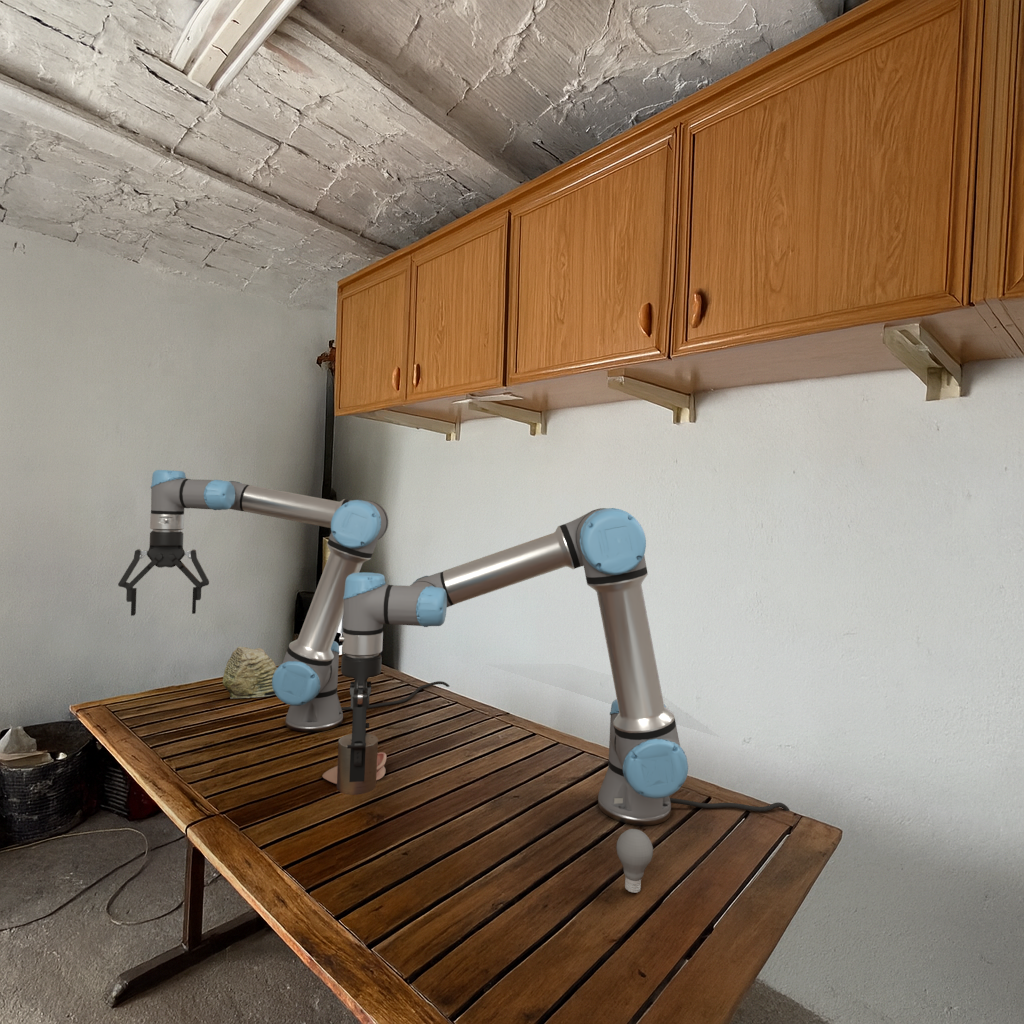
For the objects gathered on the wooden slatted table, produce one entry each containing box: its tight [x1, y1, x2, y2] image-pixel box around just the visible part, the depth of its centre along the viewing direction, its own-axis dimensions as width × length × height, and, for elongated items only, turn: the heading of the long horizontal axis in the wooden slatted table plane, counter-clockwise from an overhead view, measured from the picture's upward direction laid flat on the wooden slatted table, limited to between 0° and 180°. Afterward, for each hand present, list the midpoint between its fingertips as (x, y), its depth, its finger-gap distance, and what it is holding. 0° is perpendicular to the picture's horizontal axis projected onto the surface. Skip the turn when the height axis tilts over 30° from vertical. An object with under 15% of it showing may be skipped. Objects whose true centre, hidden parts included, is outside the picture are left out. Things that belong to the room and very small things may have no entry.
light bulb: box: [615, 828, 654, 894], centre depth 106 cm, size 6×6×10 cm
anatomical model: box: [321, 751, 387, 785], centre depth 144 cm, size 13×4×12 cm
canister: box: [336, 732, 379, 796], centre depth 122 cm, size 7×7×9 cm
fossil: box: [222, 646, 278, 699], centre depth 198 cm, size 9×18×15 cm, turn 132°
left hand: (164, 613), depth 162 cm, fingers open, 13 cm apart
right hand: (357, 771), depth 122 cm, fingers closed on canister, 7 cm apart
